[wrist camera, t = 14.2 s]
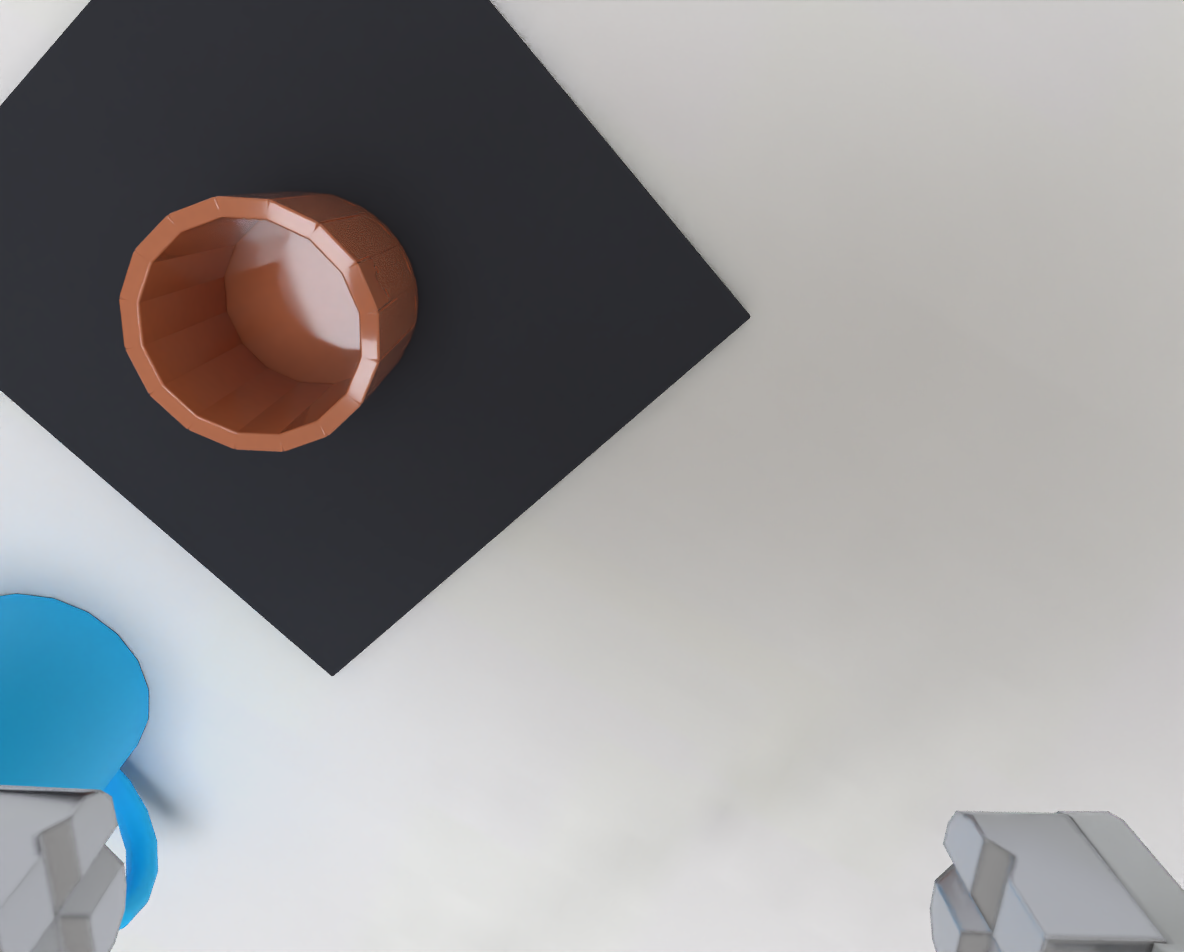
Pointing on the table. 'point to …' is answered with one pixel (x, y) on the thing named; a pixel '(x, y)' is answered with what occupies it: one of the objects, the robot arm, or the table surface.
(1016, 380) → the table surface
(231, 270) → the cup
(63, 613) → the mug
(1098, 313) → the table surface
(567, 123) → the mat
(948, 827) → the robot arm
